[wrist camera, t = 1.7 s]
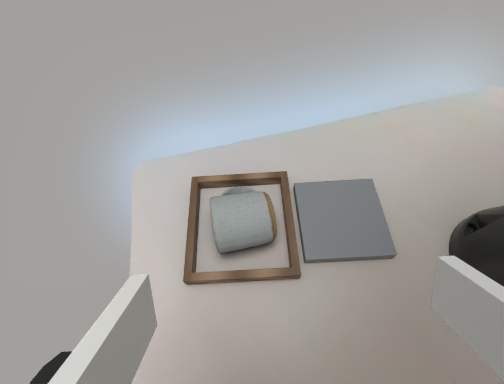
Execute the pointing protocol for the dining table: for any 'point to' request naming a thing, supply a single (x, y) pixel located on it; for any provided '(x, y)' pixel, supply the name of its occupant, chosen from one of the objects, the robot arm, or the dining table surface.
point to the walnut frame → (239, 275)
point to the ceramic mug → (242, 219)
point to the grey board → (341, 221)
